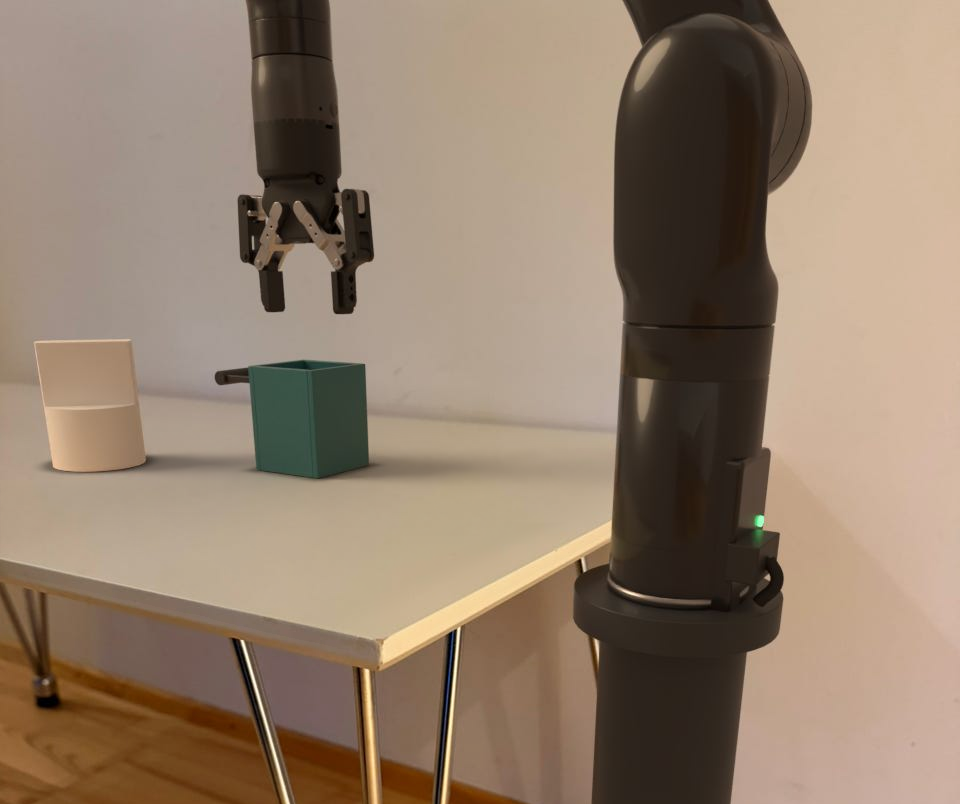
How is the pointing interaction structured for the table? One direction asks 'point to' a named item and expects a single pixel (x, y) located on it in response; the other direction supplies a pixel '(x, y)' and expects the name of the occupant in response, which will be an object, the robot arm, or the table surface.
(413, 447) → the table surface
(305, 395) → the teal open storage bin
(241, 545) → the table surface
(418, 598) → the table surface
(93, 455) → the base with upright slab
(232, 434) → the table surface
